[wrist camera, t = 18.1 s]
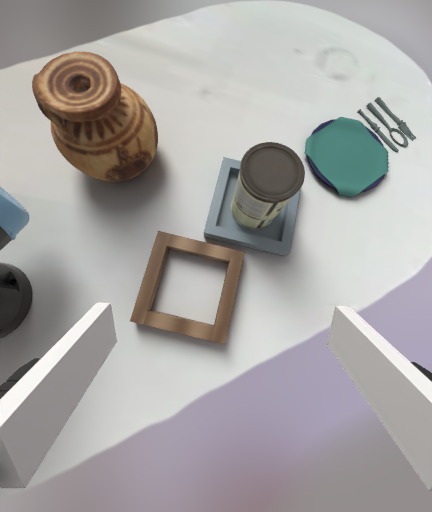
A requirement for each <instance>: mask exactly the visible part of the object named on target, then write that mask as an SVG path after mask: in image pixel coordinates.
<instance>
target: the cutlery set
mask: <svg viewBox="0 0 432 512" xmlns="http://www.w3.org/2000/svg"><path fill="white" fill-rule="evenodd" d="M375 102H377V103H378V104H379V105H380V106H381V107H382V109H383V110H384V111H385V112H386V113H387V114H388V115H389V116H390V117H391V118H392V119H393V120H395V121H396V122H397V125H399V127H398V128H399V129H400V130H401V131H402V132H403V133H404V134H405V135H406V136H407V137H409V138H410V139H411V140H412V141H413V140H414V138H416V137H415V136H414V135H413V134H412V133H411V131H410V130H409V128H408V127H407V125H406V122H403V120H401V121H400V120H399V119H398V118H397V117H396V116H395V115H394V114H393V113H392V112H391V111H390V110H389V109H388V107H387V106H386V105H385V103H384V102H383V101H382V100H381V98H380V97H378V98H377V99H376V100H375ZM367 107H368V108H369V109H370V110H371V111H373V112H374V113H375V115H377V116H378V117H379V119H380V120H381V121H382V122H383V123H384V124H385V126H386V127H387V128H388V129H389V131H390V136H391V137H392V139H393V140H394V141H395V142H396V143H398V142H397V141H396V140H395V139H394V138H393V136H392V135H391V132H392V131H394V132H397V133H399V134H400V135H401V136H402V137H403V139H404V143H403V144H400V143H398V144H400V145H404V146H406V145H408V141H407V138H406V137H405V135H404V134H403V133H402V132H401V131H399V130H398V129H395V128H390V127H389V125H388V124H387V122H386V121H385V120H384V118H383V117H382V115H381V114H380V113H379V112H378V111H377V110H376V108H375V107H374V106H373V105H372V104H371V102H370V103H369V104H368V105H367ZM358 112H359V113H360V114H362V115H363V116H364V117H365V118H366V120H367V121H368V122H369V123H370V124H371V127H372V128H373V129H374V130H375V132H376V131H377V133H378V134H379V136H380V137H381V138H382V139H383V140H384V141H385V143H386V144H387V145H388V146H389V147H390V148H391V149H392V150H394V151H396V152H398V151H399V150H398V149H397V148H396V147H395V146H394V145H393V144H392V143H391V142H390V141H389V140H388V139H387V137H386V136H385V135H384V134H383V133H382V132H381V131H380V130H379V128H380V127H377V124H375V123H373V122H372V121H371V120H370V119H369V118H368V117H366V116H365V115H364V113H363V112H362V111H361V109H360V110H359V111H358ZM411 135H412V136H413V137H414V138H413V137H412V136H411ZM305 147H306V149H305V154H306V155H308V158H309V162H310V165H311V167H312V168H313V170H314V172H315V173H316V175H317V176H318V177H319V178H320V179H321V180H323V181H324V182H325V183H326V184H327V185H329V186H331V187H333V188H335V189H337V190H338V192H339V194H340V195H343V196H348V197H352V196H355V195H357V194H358V193H360V192H365V191H367V190H369V189H371V188H373V187H375V186H377V184H378V183H379V182H380V181H381V180H382V179H383V178H384V175H385V173H387V172H388V164H389V163H388V151H387V150H386V148H385V147H384V146H383V144H382V143H381V141H380V140H379V138H378V137H377V136H376V134H374V133H373V132H372V131H371V130H370V129H368V128H367V127H366V126H364V124H363V123H362V122H360V121H358V120H354V119H349V118H344V117H339V118H338V119H336V120H330V121H327V122H325V123H323V124H321V125H319V126H318V127H317V128H316V129H315V130H314V131H313V133H312V135H311V136H310V137H309V138H308V139H307V140H306V146H305Z"/></svg>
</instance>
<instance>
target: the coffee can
mask: <svg viewBox="0 0 432 512" xmlns="http://www.w3.org/2000/svg"><path fill="white" fill-rule="evenodd" d="M304 176H305V171H304V166H303V164H302V161H301V160H300V158H299V157H298V155H297V154H296V153H295V152H294V151H293V150H292V149H290V148H289V147H287V146H285V145H282V144H279V143H273V142H266V143H261V144H258V145H255V146H254V147H252V148H250V149H249V150H248V151H247V152H246V153H245V155H244V156H243V158H242V161H241V164H240V171H239V175H238V179H237V183H236V187H235V192H234V196H233V199H232V202H231V212H232V216H233V217H234V219H235V220H236V222H237V223H238V224H240V225H241V226H243V227H245V228H247V229H251V230H258V229H262V228H265V227H267V226H268V225H269V224H270V223H271V222H272V221H273V220H274V218H275V217H276V216H277V215H278V213H279V212H280V211H281V210H282V208H283V207H284V206H285V205H286V204H287V203H288V201H289V200H290V199H291V198H292V196H294V195H295V194H296V193H297V192H298V191H299V189H300V188H301V186H302V184H303V182H304Z"/></svg>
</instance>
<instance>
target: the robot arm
mask: <svg viewBox="0 0 432 512" xmlns="http://www.w3.org/2000/svg"><path fill="white" fill-rule="evenodd" d="M28 221H29V214H28V212H27V211H26V209H25V208H24V207H23V206H22V205H21V204H20V203H19V202H18V201H17V200H15V199H14V198H13V197H12V196H11V195H10V194H8V193H7V192H6V191H5V190H4V189H2V188H1V187H0V250H1V249H2V248H3V247H4V246H6V245H7V244H8V243H9V242H10V241H11V240H12V239H13V240H14V239H15V238H16V235H17V234H18V233H19V232H20V231H21V230H22V229H23V228H24V227H25V226H26V225H27V223H28ZM31 299H32V290H31V285H30V282H29V280H28V278H27V277H26V275H25V274H24V273H23V272H22V271H21V270H20V269H18V268H17V267H15V266H12V265H9V264H5V263H0V338H2V337H4V336H6V335H8V334H9V333H11V332H12V331H13V330H14V329H16V328H17V327H18V326H19V325H20V323H21V322H22V321H23V319H24V318H25V316H26V315H27V313H28V310H29V308H30V304H31ZM116 342H117V339H116V333H115V327H114V321H113V315H112V309H111V303H96V304H95V305H94V306H93V307H92V308H91V309H90V310H89V311H88V312H87V313H86V314H85V315H84V316H83V317H82V318H81V319H80V320H79V321H78V322H77V323H76V324H75V325H74V326H73V327H72V328H71V329H70V330H69V331H68V332H67V333H66V334H65V335H64V336H63V337H62V338H61V339H60V340H59V341H58V342H57V343H56V344H55V345H54V346H53V347H52V348H51V349H50V350H49V351H48V352H47V353H46V354H45V355H44V356H43V357H42V358H41V359H33V360H32V361H30V362H28V363H27V364H25V365H24V366H22V367H21V368H19V369H18V370H17V371H16V372H15V373H14V374H13V375H12V376H11V377H10V378H9V379H8V380H7V382H4V383H3V384H2V385H1V386H0V487H1V488H25V487H26V486H27V484H28V482H29V481H30V479H31V478H32V476H33V474H34V473H35V471H36V470H37V468H38V466H39V465H40V463H41V462H42V460H43V459H44V457H45V455H46V454H47V452H48V451H49V449H50V447H51V446H52V444H53V443H54V441H55V439H56V438H57V436H58V435H59V433H60V431H61V430H62V428H63V427H64V425H65V423H66V422H67V420H68V419H69V417H70V415H71V414H72V412H73V411H74V409H75V407H76V406H77V404H78V403H79V401H80V400H81V398H82V396H83V395H84V393H85V392H86V390H87V388H88V387H89V385H90V384H91V382H92V380H93V379H94V377H95V376H96V374H97V372H98V371H99V369H100V368H101V366H102V364H103V363H104V361H105V360H106V358H107V356H108V355H109V353H110V352H111V350H112V348H113V347H114V345H115V344H116ZM327 345H328V347H329V348H330V350H331V351H332V352H333V354H334V355H335V357H336V358H337V360H338V361H339V362H340V364H341V365H342V367H343V368H344V370H345V371H346V372H347V374H348V375H349V377H350V378H351V380H352V381H353V382H354V384H355V385H356V387H357V388H358V390H359V391H360V392H361V394H362V395H363V397H364V398H365V400H366V401H367V403H368V404H369V405H370V407H371V408H372V410H373V411H374V413H375V414H376V415H377V417H378V418H379V420H380V421H381V422H382V424H383V425H384V427H385V428H386V430H387V431H388V433H389V434H390V435H391V437H392V438H393V440H394V441H395V443H396V444H397V446H398V447H399V448H400V450H401V451H402V453H403V454H404V455H405V457H406V458H407V460H408V461H409V463H410V464H411V466H412V467H413V468H414V470H415V471H416V473H417V474H418V476H419V477H420V478H421V480H422V481H423V483H424V484H425V486H426V487H427V488H428V490H429V491H432V373H431V372H430V371H428V370H426V369H425V368H423V367H422V366H420V365H418V364H417V363H415V362H409V361H408V360H407V359H406V358H405V357H404V356H403V355H402V354H400V353H399V352H398V351H397V350H396V349H395V348H394V347H393V346H392V345H391V344H390V343H388V342H387V341H386V340H385V339H384V338H383V337H382V336H381V335H380V334H379V333H377V332H376V331H375V330H374V329H373V328H372V327H371V326H370V325H369V324H368V323H367V322H365V321H364V320H363V319H362V318H361V317H360V316H359V315H358V314H357V313H356V312H355V311H353V310H352V309H351V308H350V307H349V306H335V311H334V315H333V319H332V323H331V328H330V332H329V336H328V340H327Z"/></svg>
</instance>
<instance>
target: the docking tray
mask: <svg viewBox="0 0 432 512" xmlns="http://www.w3.org/2000/svg"><path fill="white" fill-rule="evenodd" d="M240 164H241V161H238V160H233V159H229V158H225V157H224V158H223V162H222V165H221V169H220V173H219V177H218V181H217V184H216V188H215V192H214V196H213V199H212V203H211V207H210V211H209V215H208V218H207V222H206V226H205V230H204V237H208V238H212V239H216V240H220V241H224V242H228V243H232V244H236V245H240V246H244V247H248V248H253V249H257V250H261V251H265V252H269V253H273V254H277V255H281V256H285V255H287V254H289V253H290V248H291V242H292V236H293V230H294V224H295V218H296V212H297V206H298V200H299V195H300V189H301V188H300V189H299V191H298V192H297V193H296V194H295V195H294V196H292V198H291V199H290V200H289V201H288V203H287V204H286V205H285V206H284V207H283V208H282V210H281V211H280V212H279V213H278V215H277V216H276V217H275V218H274V220H273V221H272V222H271V223H270V224H269V225H268V226H267V227H265V228H262V229H258V230H251V229H247V228H245V227H243V226H241V225H240V224H238V223H237V222H236V220H235V219H234V217H233V216H232V212H231V202H232V199H233V196H234V192H235V187H236V183H237V179H238V175H239V171H240Z"/></svg>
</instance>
